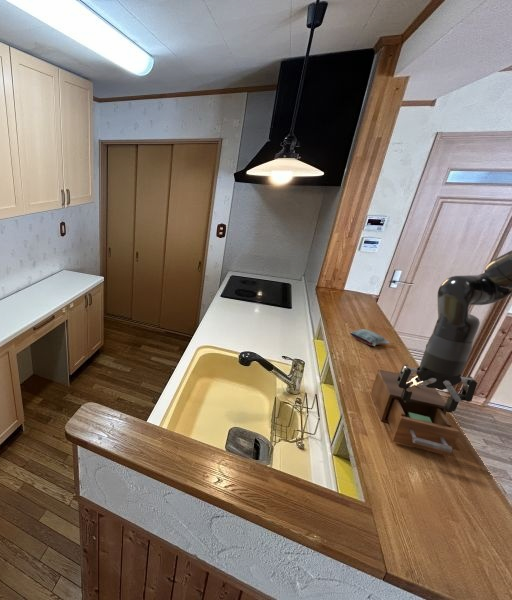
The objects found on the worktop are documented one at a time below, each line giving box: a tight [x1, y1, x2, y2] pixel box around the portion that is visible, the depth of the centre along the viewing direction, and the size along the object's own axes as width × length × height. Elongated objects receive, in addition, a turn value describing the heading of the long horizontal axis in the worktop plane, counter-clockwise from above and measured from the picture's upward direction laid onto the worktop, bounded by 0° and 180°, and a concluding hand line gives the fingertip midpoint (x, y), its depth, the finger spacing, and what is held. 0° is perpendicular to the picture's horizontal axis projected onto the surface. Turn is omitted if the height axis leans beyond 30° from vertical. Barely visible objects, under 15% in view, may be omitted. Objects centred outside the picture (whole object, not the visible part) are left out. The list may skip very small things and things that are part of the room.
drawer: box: [386, 397, 461, 457], centre depth 87 cm, size 18×11×8 cm, turn 153°
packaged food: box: [349, 328, 391, 347], centre depth 141 cm, size 9×12×5 cm
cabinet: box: [370, 369, 447, 424], centre depth 98 cm, size 15×13×10 cm
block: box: [406, 412, 432, 423], centre depth 88 cm, size 4×4×4 cm
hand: (426, 406), depth 86 cm, fingers open, 8 cm apart
